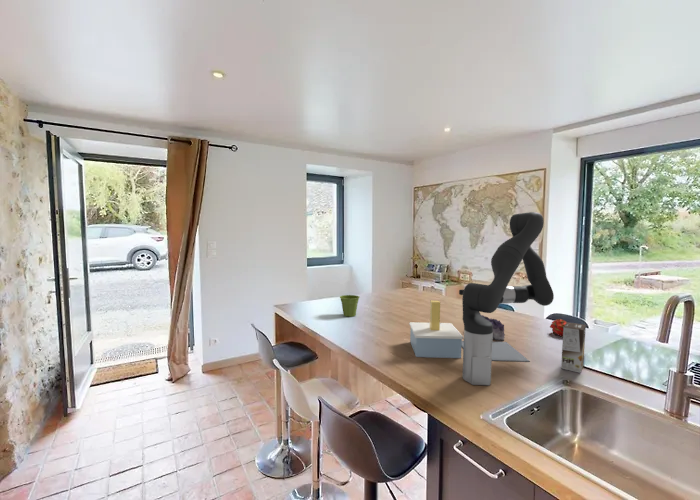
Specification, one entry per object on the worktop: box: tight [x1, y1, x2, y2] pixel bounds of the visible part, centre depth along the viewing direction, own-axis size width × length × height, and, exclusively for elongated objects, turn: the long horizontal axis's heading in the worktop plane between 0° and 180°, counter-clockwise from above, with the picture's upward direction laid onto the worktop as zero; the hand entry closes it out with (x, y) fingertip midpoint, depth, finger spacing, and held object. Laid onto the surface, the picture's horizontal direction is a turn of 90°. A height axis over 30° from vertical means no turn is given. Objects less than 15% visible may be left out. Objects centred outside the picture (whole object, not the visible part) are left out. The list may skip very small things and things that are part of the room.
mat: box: [461, 340, 530, 363], centre depth 144 cm, size 22×22×1 cm
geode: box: [481, 314, 506, 342], centre depth 166 cm, size 20×12×10 cm, turn 23°
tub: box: [409, 328, 463, 359], centre depth 145 cm, size 18×18×8 cm
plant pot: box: [339, 294, 361, 318], centre depth 199 cm, size 12×12×11 cm
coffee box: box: [560, 321, 587, 373], centre depth 127 cm, size 9×6×16 cm
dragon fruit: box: [549, 318, 568, 338], centre depth 166 cm, size 8×8×12 cm
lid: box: [408, 299, 464, 340], centre depth 144 cm, size 19×19×13 cm
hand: (462, 294), depth 143 cm, fingers open, 8 cm apart
